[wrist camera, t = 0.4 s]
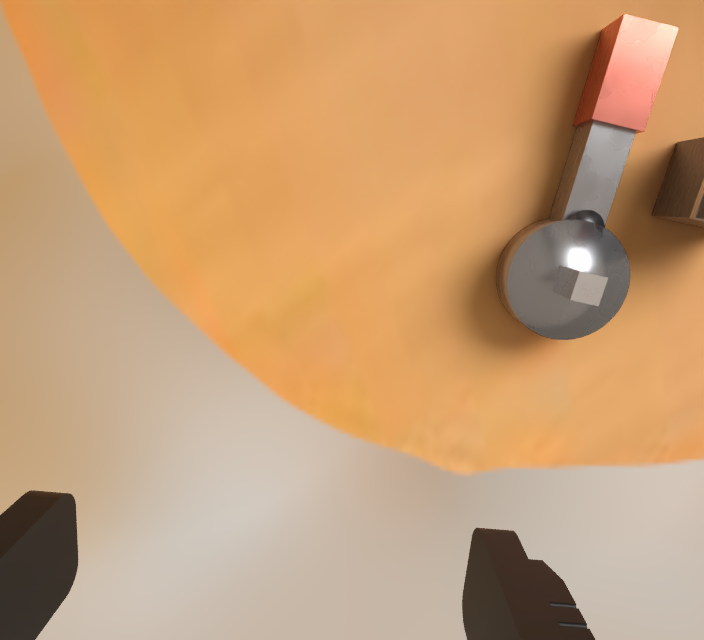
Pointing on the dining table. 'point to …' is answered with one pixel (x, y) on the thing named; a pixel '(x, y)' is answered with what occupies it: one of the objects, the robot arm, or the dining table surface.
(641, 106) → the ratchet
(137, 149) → the dining table surface
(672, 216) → the grey block
